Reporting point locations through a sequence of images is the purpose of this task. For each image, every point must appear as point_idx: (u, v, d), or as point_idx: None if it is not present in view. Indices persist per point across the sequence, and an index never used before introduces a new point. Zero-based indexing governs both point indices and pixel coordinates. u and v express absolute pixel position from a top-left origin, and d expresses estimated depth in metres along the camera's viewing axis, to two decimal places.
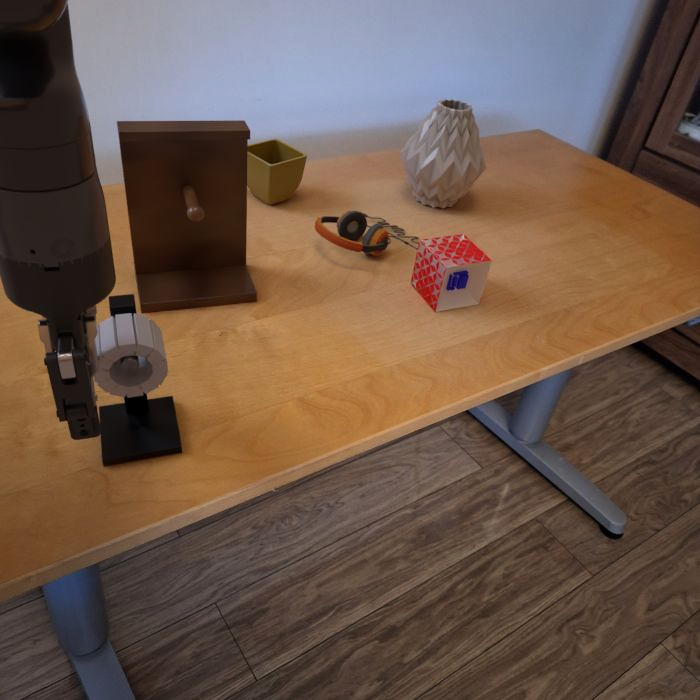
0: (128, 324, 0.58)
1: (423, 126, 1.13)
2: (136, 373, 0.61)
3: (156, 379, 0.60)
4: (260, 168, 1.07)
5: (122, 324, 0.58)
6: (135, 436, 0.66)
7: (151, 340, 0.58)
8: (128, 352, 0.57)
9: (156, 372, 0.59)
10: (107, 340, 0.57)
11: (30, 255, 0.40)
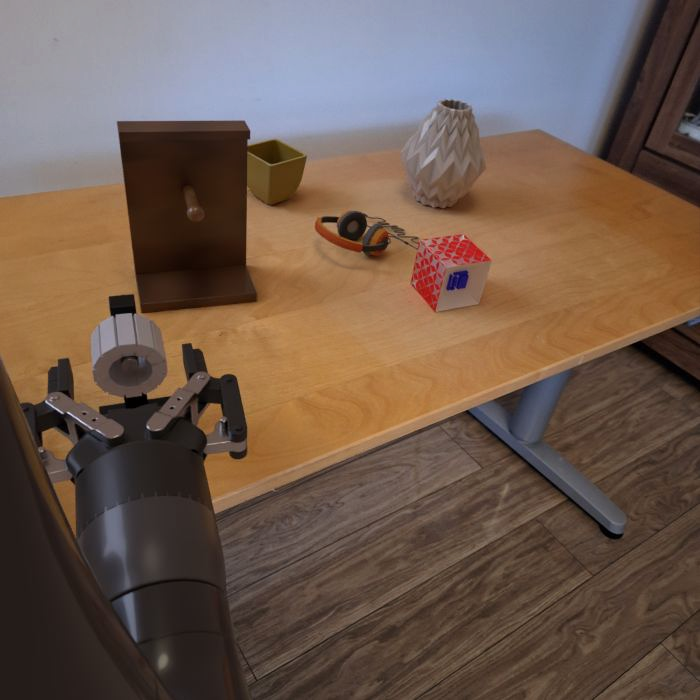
0: (128, 324, 0.58)
1: (423, 126, 1.13)
2: (135, 373, 0.61)
3: (155, 380, 0.60)
4: (260, 168, 1.07)
5: (122, 324, 0.58)
6: None
7: (151, 340, 0.58)
8: (128, 352, 0.57)
9: (156, 372, 0.59)
10: (107, 340, 0.57)
11: None
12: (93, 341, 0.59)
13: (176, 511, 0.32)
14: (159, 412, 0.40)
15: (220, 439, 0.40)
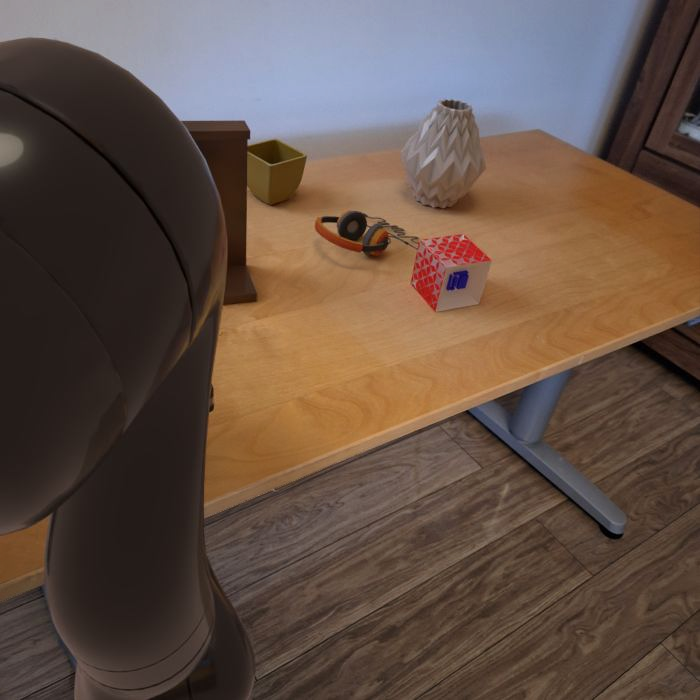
0: None
1: (423, 126, 1.13)
2: None
3: None
4: (260, 168, 1.07)
5: None
6: None
7: None
8: None
9: None
10: None
11: None
12: None
13: None
14: None
15: None
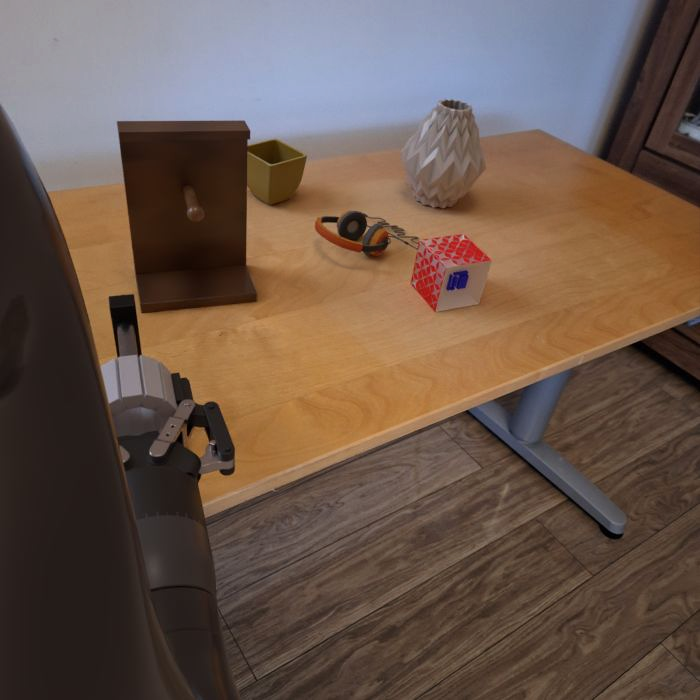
0: (133, 369, 0.49)
1: (423, 126, 1.13)
2: (141, 425, 0.52)
3: None
4: (260, 168, 1.07)
5: (126, 369, 0.49)
6: None
7: (160, 389, 0.49)
8: (133, 404, 0.48)
9: None
10: (108, 389, 0.48)
11: None
12: None
13: (175, 528, 0.39)
14: (160, 439, 0.46)
15: (212, 460, 0.47)
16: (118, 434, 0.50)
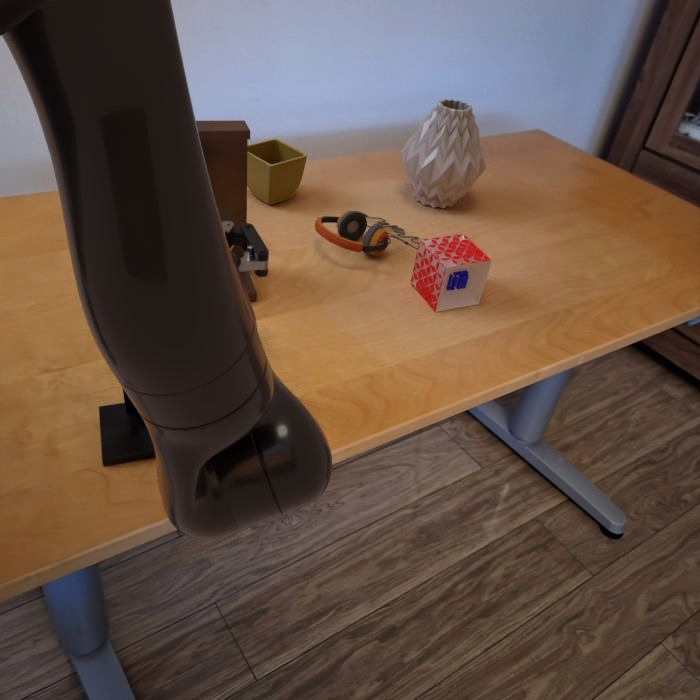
0: None
1: (423, 126, 1.13)
2: None
3: None
4: (260, 168, 1.07)
5: None
6: (135, 436, 0.66)
7: None
8: None
9: None
10: None
11: None
12: None
13: None
14: None
15: (250, 260, 0.56)
16: None
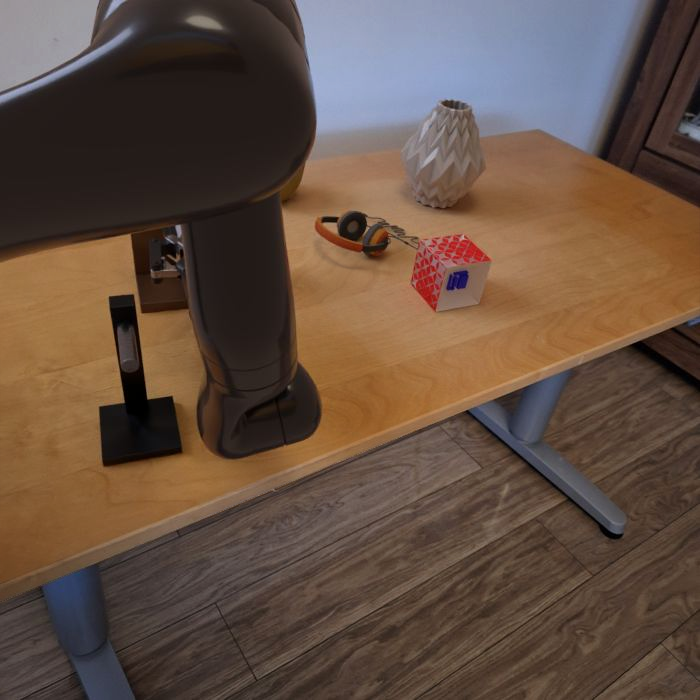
0: None
1: (423, 126, 1.13)
2: None
3: None
4: None
5: None
6: (135, 436, 0.66)
7: None
8: None
9: None
10: None
11: None
12: None
13: None
14: None
15: None
16: None
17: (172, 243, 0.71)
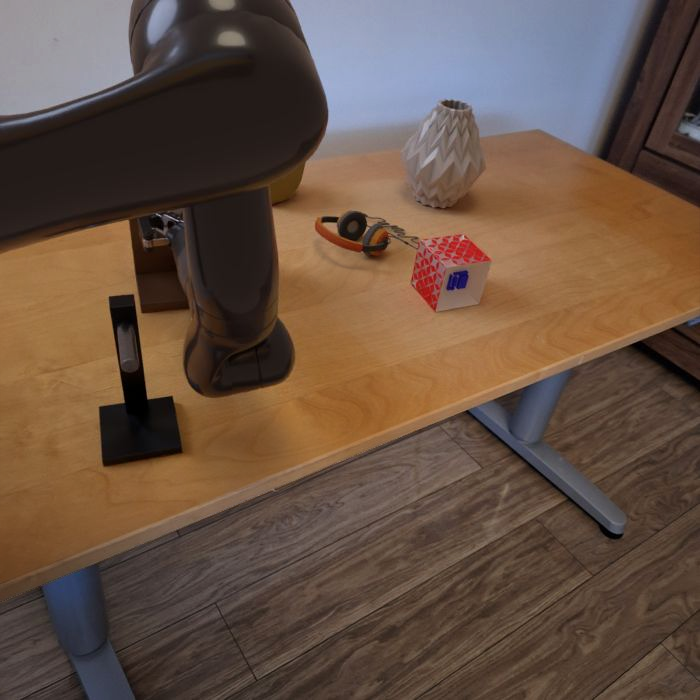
0: None
1: (423, 126, 1.13)
2: None
3: None
4: None
5: None
6: (135, 436, 0.66)
7: None
8: None
9: None
10: None
11: (178, 261, 0.69)
12: None
13: None
14: None
15: None
16: None
17: (157, 216, 0.77)
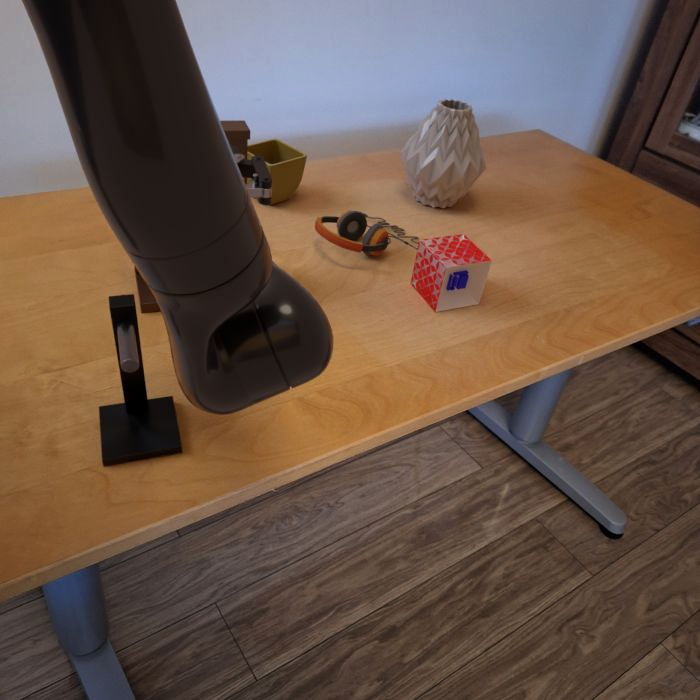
0: None
1: (423, 126, 1.13)
2: None
3: None
4: None
5: None
6: (135, 436, 0.66)
7: None
8: None
9: None
10: None
11: None
12: None
13: None
14: None
15: (253, 187, 0.59)
16: None
17: None
